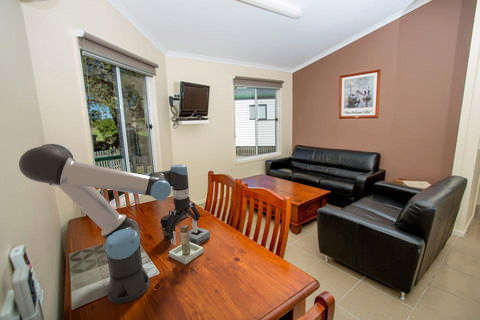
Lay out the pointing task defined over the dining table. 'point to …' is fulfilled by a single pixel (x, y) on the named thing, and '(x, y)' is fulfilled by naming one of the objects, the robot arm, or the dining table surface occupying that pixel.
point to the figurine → (183, 217)
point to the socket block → (199, 236)
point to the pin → (185, 240)
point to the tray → (184, 259)
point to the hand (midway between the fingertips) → (184, 237)
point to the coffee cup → (163, 223)
